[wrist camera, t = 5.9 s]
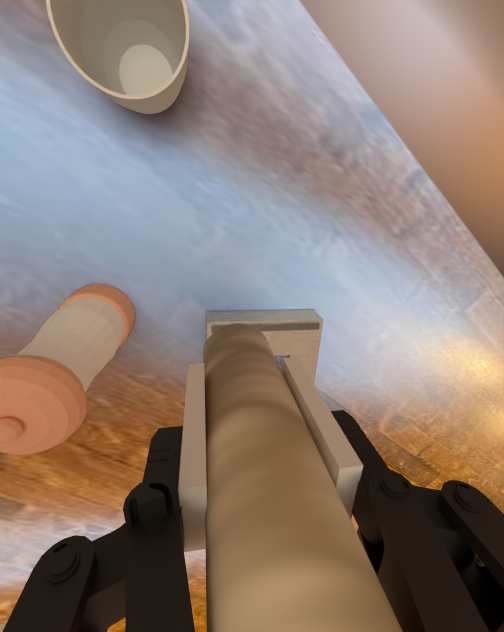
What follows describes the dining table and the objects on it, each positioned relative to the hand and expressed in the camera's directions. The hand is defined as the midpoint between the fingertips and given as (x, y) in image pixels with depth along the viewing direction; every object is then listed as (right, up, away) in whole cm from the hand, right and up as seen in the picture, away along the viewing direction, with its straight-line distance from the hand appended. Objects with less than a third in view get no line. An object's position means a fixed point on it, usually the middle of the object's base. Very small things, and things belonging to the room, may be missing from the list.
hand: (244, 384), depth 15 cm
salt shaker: (-17, +4, +20) cm, 26 cm away
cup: (-9, +25, +12) cm, 30 cm away
